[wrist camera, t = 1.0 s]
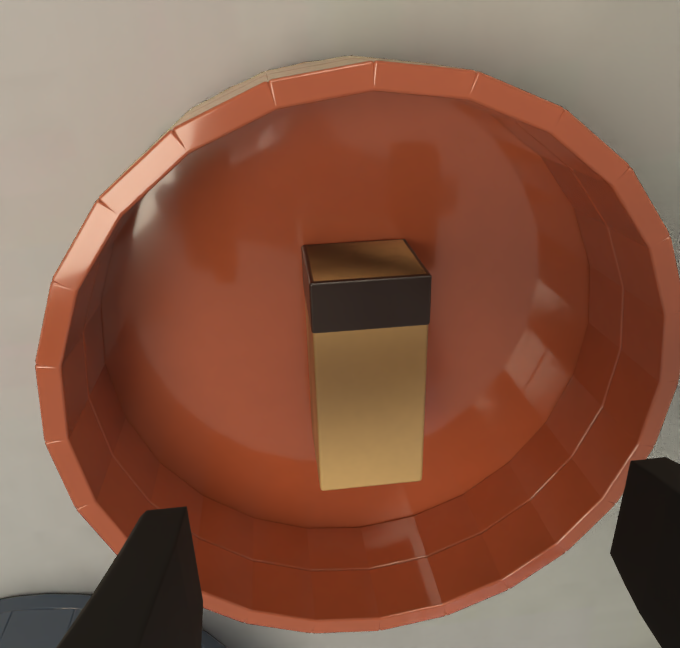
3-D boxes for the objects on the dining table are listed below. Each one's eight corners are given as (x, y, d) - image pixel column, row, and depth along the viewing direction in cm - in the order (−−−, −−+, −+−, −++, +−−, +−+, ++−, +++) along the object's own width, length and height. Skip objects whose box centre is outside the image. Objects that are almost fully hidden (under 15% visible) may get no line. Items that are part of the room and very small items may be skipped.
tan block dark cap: (401, 423, 18) (424, 482, 15) (311, 431, 18) (319, 493, 15) (405, 237, 15) (433, 275, 13) (300, 244, 15) (308, 283, 13)
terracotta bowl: (639, 414, 19) (726, 499, 16) (247, 585, 21) (245, 701, 17) (512, -57, 13) (604, -92, 10) (-33, 220, 14) (-130, 280, 11)
